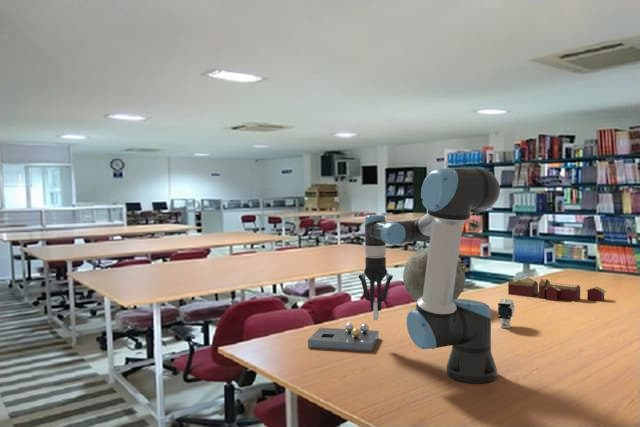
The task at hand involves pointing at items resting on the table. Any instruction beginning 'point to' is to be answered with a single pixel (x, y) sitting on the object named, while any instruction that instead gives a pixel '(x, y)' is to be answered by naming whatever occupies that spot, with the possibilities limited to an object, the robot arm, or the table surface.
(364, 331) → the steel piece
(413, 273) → the mottled grey sphere
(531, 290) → the toy houses
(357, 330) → the brass ball
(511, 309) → the pneumatic valve
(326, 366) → the table surface
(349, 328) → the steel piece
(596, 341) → the table surface
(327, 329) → the hole plate
